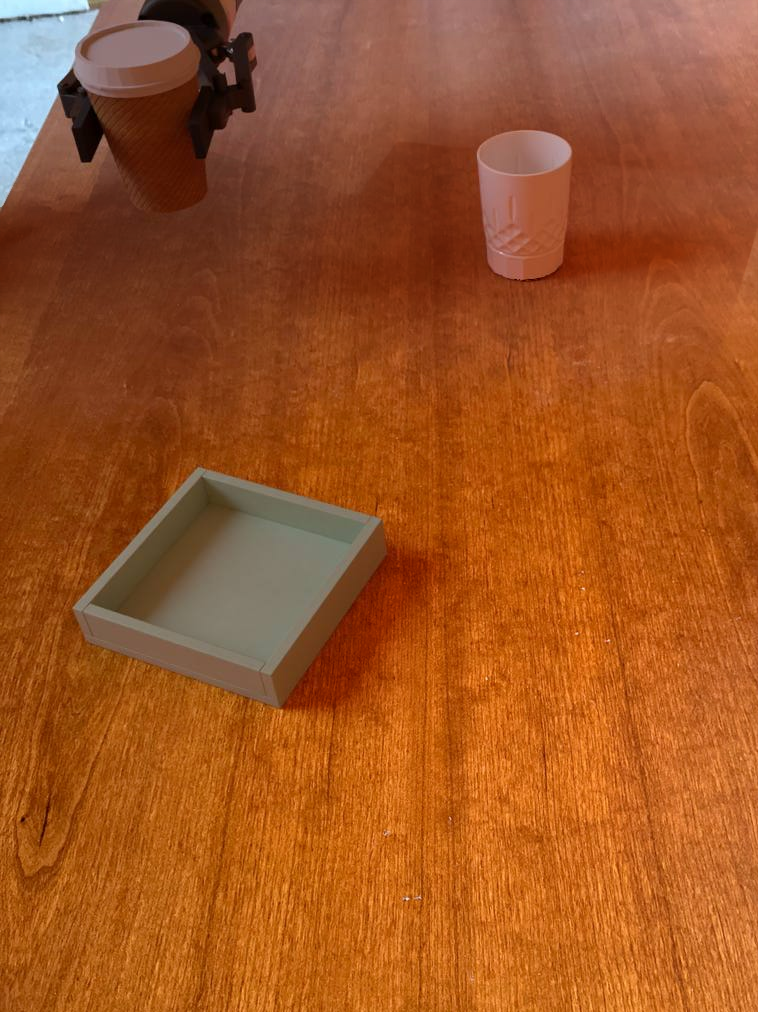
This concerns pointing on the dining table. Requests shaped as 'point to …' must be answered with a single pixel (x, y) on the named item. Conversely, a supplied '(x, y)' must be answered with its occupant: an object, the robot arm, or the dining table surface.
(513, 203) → the white cup
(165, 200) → the disposable coffee cup
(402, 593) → the dining table surface
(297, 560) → the square tray
